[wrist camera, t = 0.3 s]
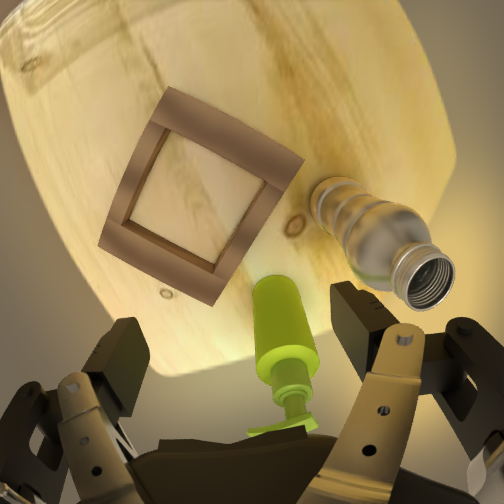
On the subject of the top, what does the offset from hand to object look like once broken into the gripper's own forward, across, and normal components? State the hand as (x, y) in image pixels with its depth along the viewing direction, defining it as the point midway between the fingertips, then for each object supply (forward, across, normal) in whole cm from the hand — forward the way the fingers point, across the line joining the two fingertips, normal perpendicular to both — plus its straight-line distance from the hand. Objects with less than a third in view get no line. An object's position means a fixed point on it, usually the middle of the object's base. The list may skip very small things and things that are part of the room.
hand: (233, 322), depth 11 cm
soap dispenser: (+23, -3, +11) cm, 26 cm away
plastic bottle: (+22, -12, 0) cm, 25 cm away
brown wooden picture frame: (+22, +4, -3) cm, 23 cm away
